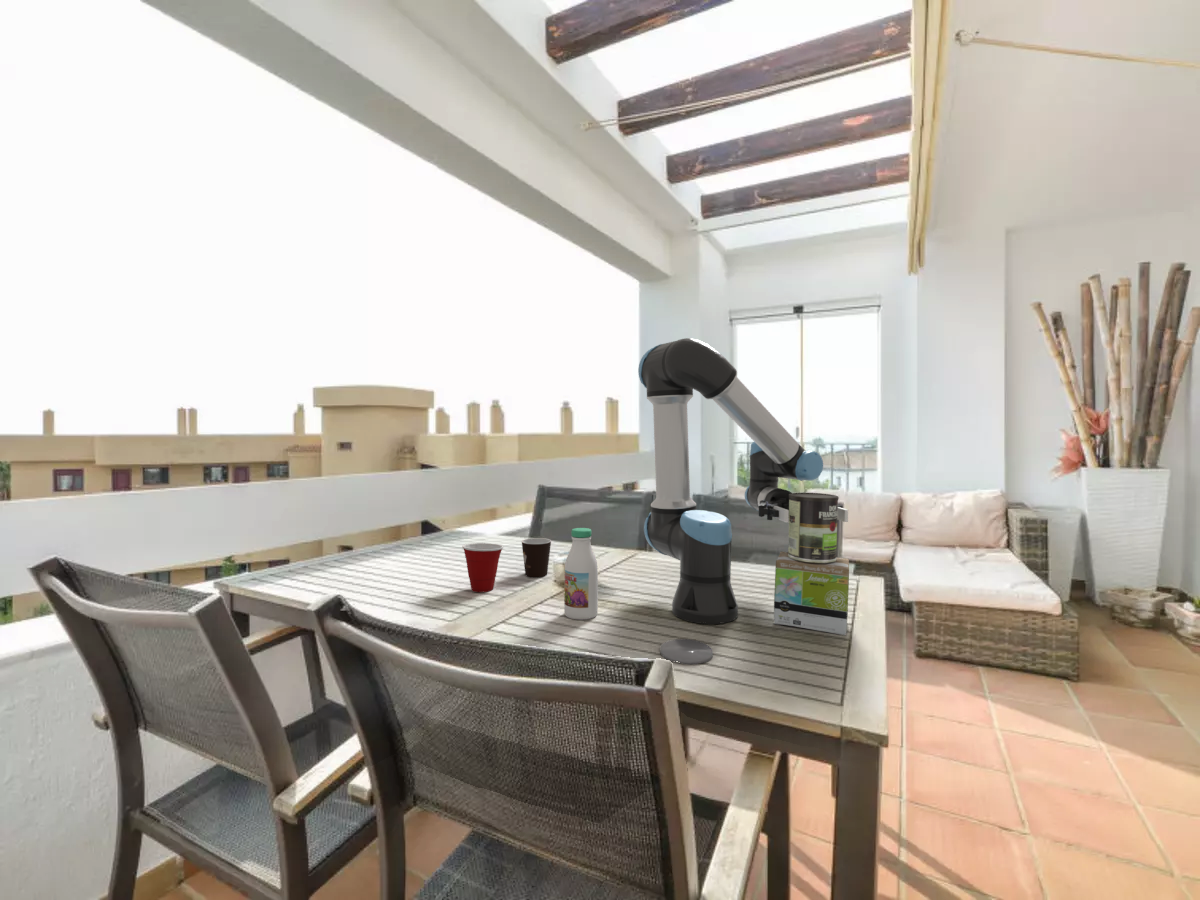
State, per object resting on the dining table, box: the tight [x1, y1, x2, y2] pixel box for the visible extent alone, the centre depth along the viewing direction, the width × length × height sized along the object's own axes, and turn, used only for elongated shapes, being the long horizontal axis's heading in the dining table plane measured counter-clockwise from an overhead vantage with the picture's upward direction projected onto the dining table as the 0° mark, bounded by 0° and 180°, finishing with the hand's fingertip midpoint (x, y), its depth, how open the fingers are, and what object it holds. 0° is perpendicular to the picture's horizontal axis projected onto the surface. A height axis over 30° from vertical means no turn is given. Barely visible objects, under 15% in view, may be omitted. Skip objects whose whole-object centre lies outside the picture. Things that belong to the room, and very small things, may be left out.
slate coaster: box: [659, 638, 714, 665], centre depth 105 cm, size 10×10×1 cm
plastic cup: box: [462, 542, 504, 593], centre depth 145 cm, size 11×11×12 cm
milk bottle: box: [563, 527, 599, 621], centre depth 126 cm, size 8×8×20 cm
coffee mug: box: [521, 537, 552, 579], centre depth 162 cm, size 12×9×10 cm
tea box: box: [773, 551, 850, 636], centre depth 121 cm, size 15×10×15 cm, turn 66°
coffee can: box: [787, 492, 840, 563], centre depth 121 cm, size 10×10×14 cm
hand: (816, 516), depth 120 cm, fingers open, 13 cm apart
